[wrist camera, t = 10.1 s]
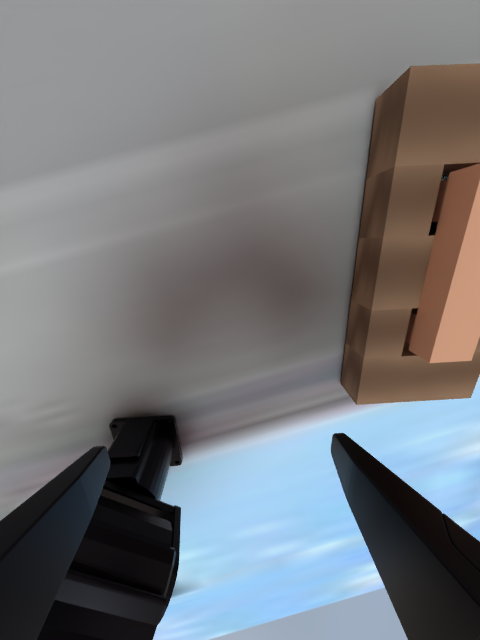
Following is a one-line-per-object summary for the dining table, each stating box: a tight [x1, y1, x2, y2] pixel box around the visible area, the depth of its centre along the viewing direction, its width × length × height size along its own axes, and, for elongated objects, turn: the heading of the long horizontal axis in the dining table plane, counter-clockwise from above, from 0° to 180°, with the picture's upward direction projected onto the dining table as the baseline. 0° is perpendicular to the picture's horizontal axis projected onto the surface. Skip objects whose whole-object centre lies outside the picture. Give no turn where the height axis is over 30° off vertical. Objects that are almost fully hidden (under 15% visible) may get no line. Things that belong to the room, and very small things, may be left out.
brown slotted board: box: [341, 64, 480, 405], centre depth 17 cm, size 22×10×3 cm, turn 3°
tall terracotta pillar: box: [405, 163, 480, 363], centre depth 16 cm, size 12×3×5 cm, turn 3°
